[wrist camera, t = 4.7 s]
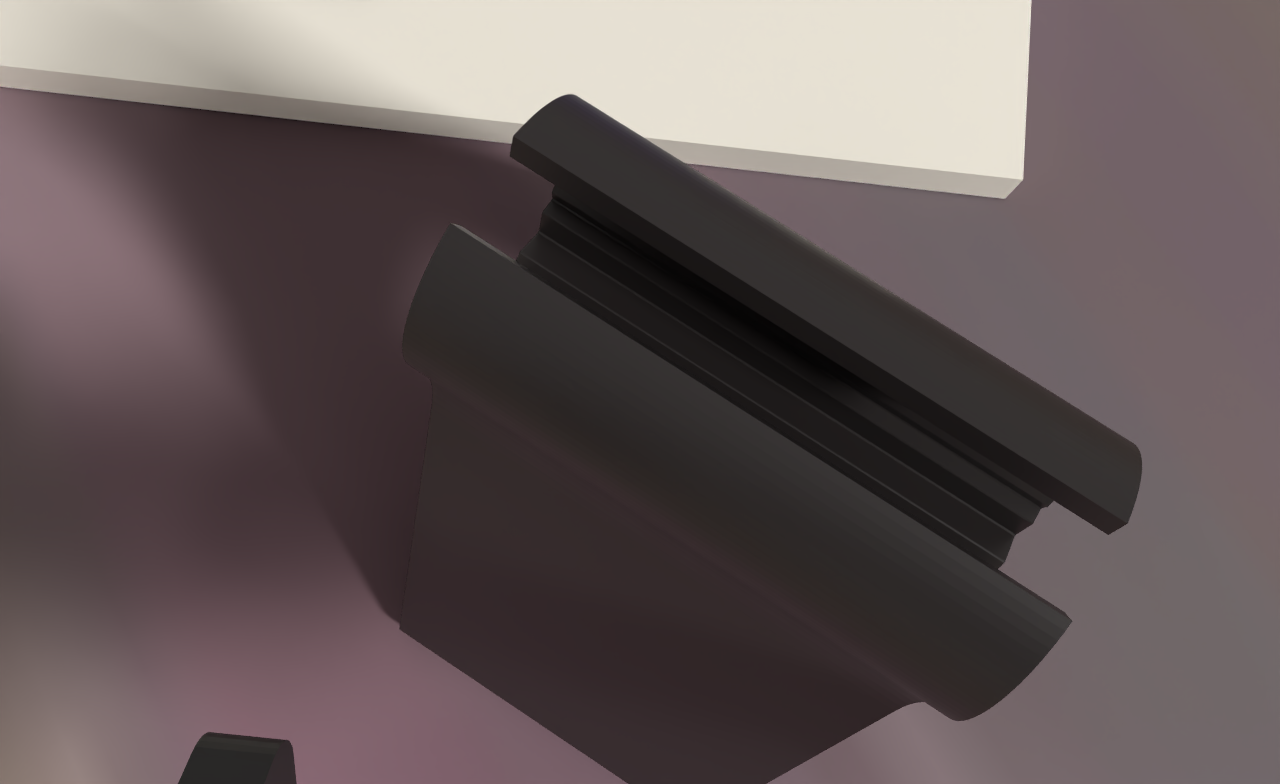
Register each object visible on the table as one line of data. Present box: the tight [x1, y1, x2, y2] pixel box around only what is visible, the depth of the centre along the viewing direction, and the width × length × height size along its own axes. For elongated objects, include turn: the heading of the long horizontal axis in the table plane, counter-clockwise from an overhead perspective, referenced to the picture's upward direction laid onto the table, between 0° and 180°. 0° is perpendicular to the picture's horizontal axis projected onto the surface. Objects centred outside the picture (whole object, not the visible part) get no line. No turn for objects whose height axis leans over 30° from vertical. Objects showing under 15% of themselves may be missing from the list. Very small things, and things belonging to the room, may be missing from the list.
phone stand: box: [399, 94, 1142, 784], centre depth 16 cm, size 9×6×12 cm, turn 147°
